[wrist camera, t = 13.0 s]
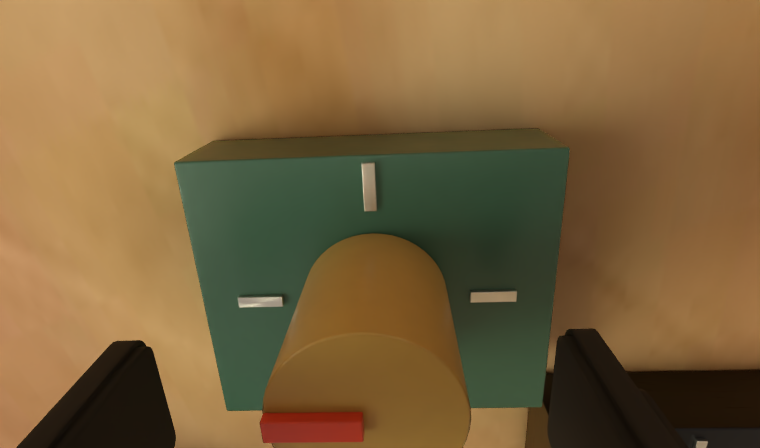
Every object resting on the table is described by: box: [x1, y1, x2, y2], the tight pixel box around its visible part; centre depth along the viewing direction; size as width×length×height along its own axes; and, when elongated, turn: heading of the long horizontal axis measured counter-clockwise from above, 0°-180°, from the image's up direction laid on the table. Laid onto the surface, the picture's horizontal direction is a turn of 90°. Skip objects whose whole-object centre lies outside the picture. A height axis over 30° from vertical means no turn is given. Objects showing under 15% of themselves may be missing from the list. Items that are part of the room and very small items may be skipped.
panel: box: [174, 128, 570, 411], centre depth 16 cm, size 11×9×3 cm
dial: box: [260, 233, 471, 448], centre depth 12 cm, size 4×4×5 cm
